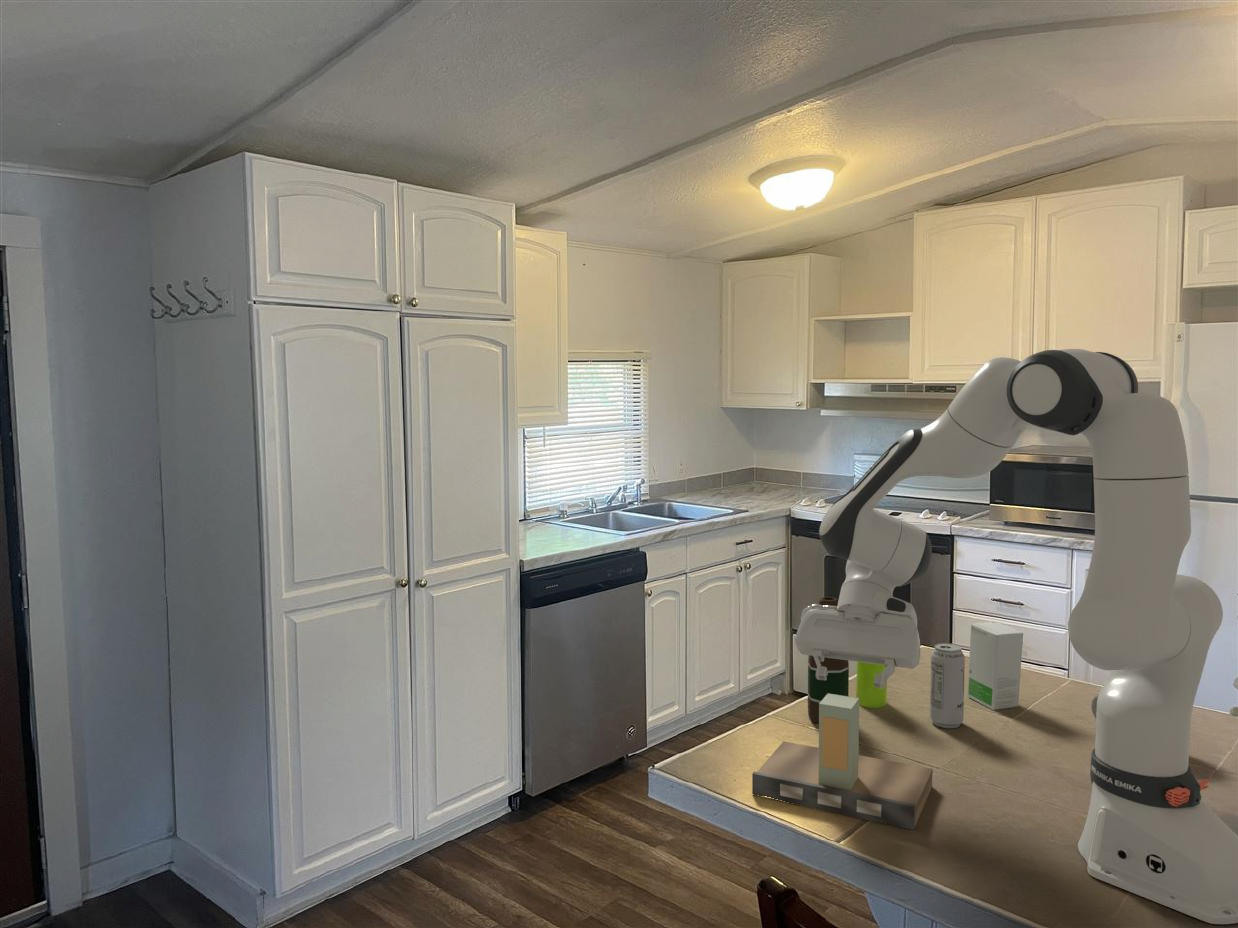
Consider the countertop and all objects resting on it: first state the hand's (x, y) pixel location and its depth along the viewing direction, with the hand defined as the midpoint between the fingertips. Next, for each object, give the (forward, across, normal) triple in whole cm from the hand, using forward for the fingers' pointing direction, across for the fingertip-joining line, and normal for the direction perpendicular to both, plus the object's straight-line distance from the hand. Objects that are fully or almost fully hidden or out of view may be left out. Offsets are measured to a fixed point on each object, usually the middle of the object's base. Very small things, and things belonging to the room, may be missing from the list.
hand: (849, 682), depth 148 cm
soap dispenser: (-15, -4, +39) cm, 42 cm away
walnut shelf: (+14, 0, +10) cm, 17 cm away
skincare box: (-23, +17, +47) cm, 55 cm away
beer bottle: (-6, -10, +30) cm, 32 cm away
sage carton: (+14, 0, +5) cm, 15 cm away
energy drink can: (-11, +10, +36) cm, 39 cm away
